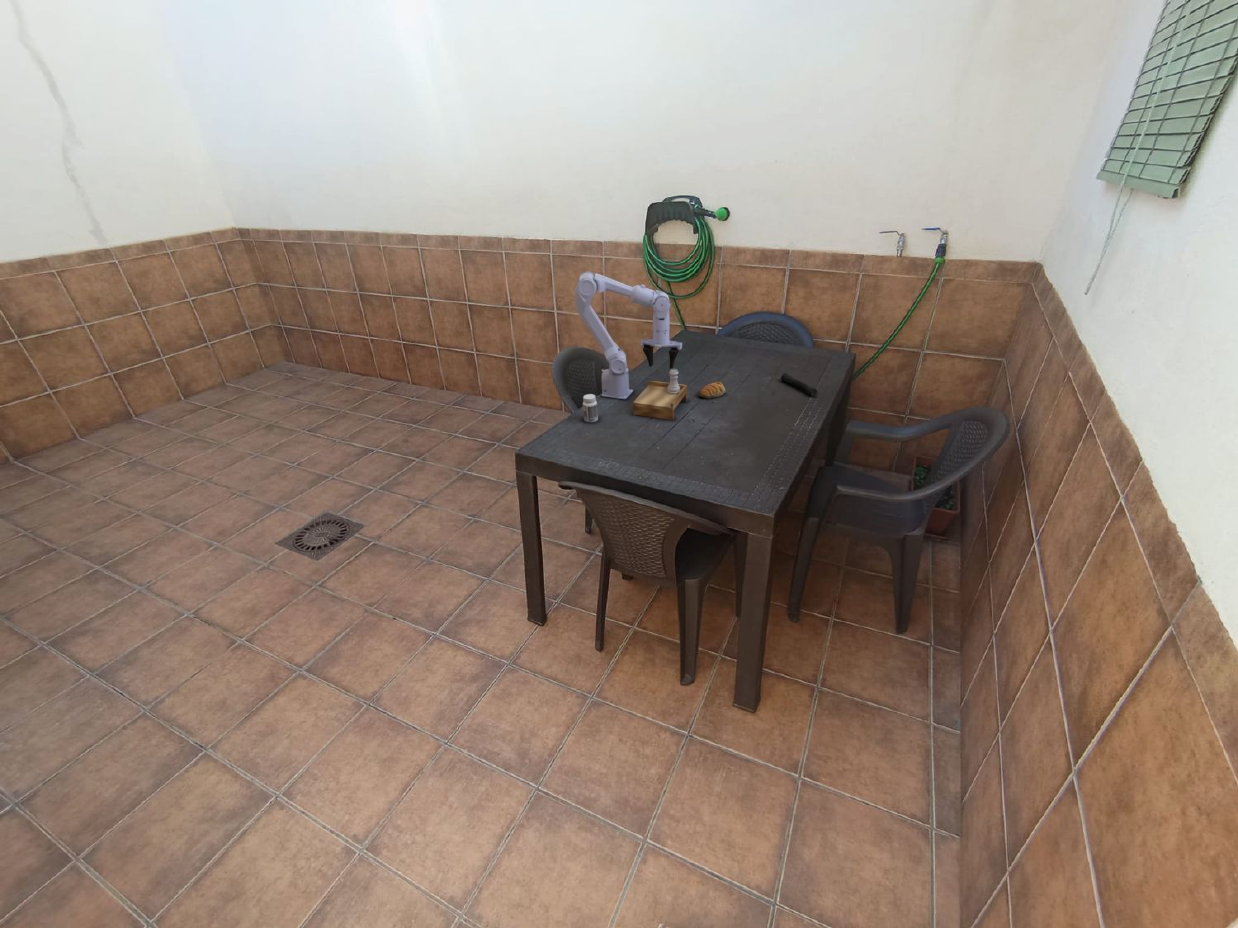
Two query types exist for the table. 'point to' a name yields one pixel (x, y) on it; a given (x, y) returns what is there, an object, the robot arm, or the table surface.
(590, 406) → the pill bottle
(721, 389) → the pastry
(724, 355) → the table surface
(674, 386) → the rook chess piece
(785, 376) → the flashlight
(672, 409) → the wooden tray
